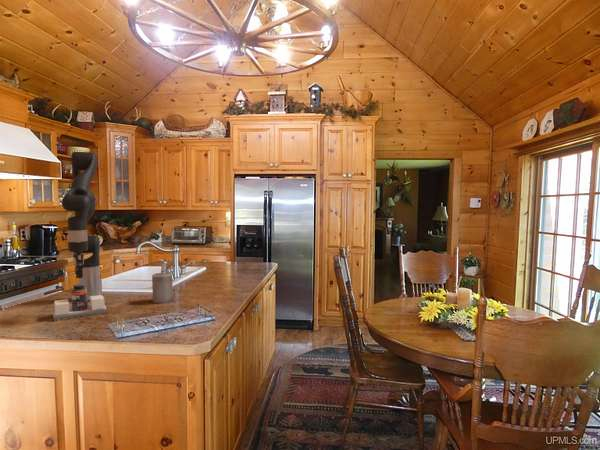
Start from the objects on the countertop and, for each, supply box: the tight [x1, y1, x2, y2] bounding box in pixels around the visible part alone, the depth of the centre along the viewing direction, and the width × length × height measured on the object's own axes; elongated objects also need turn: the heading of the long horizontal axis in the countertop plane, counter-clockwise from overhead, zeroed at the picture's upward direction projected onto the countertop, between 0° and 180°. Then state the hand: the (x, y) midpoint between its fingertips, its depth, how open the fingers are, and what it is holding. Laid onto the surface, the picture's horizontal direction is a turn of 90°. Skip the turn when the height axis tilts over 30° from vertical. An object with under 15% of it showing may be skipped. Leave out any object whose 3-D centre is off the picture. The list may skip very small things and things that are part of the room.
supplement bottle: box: [71, 283, 88, 311], centre depth 160 cm, size 6×6×11 cm
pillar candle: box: [151, 271, 174, 304], centre depth 183 cm, size 10×10×15 cm
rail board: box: [52, 294, 108, 320], centre depth 160 cm, size 20×11×6 cm, turn 126°
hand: (78, 276), depth 159 cm, fingers open, 8 cm apart
